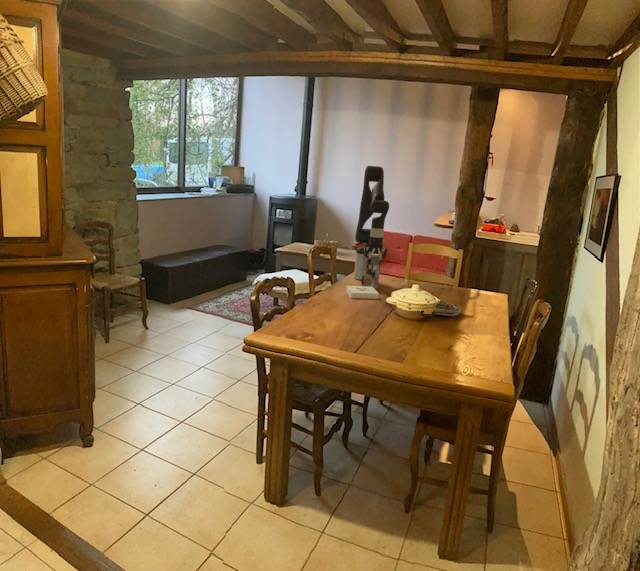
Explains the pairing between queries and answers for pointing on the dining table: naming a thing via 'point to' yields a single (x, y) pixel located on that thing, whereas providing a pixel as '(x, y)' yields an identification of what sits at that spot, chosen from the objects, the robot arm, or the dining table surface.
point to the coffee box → (370, 276)
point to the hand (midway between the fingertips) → (373, 265)
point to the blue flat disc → (446, 310)
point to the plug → (374, 261)
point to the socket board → (362, 292)
